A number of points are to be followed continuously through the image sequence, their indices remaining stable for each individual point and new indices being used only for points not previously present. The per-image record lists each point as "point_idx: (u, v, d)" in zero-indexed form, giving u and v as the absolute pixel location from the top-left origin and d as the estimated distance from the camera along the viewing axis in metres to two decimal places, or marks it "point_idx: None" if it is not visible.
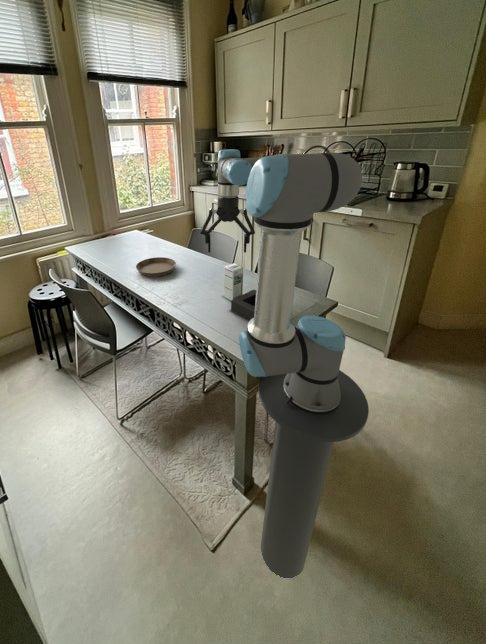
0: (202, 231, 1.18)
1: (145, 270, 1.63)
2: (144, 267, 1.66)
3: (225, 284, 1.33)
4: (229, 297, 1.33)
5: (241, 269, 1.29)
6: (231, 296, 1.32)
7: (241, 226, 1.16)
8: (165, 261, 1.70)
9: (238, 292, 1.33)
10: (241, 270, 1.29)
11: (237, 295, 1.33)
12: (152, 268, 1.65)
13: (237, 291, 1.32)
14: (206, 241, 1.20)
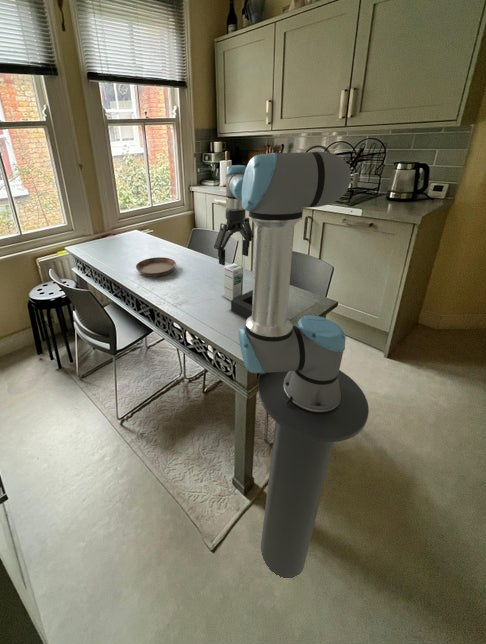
0: (219, 246, 1.19)
1: (145, 270, 1.63)
2: (144, 267, 1.66)
3: (225, 284, 1.33)
4: (229, 297, 1.33)
5: (241, 269, 1.29)
6: (231, 296, 1.32)
7: (245, 233, 1.26)
8: (165, 261, 1.70)
9: (238, 292, 1.33)
10: (241, 270, 1.29)
11: (237, 295, 1.33)
12: (152, 268, 1.65)
13: (237, 291, 1.32)
14: (221, 255, 1.22)
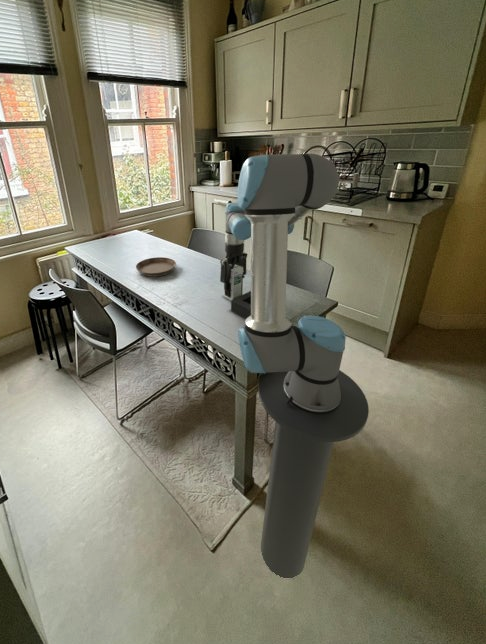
0: (225, 281, 1.27)
1: (145, 270, 1.63)
2: (144, 267, 1.66)
3: None
4: (229, 297, 1.33)
5: (241, 269, 1.29)
6: (231, 296, 1.32)
7: None
8: (165, 261, 1.70)
9: (238, 292, 1.33)
10: (241, 270, 1.29)
11: (237, 295, 1.33)
12: (152, 268, 1.65)
13: (237, 291, 1.32)
14: (227, 288, 1.31)
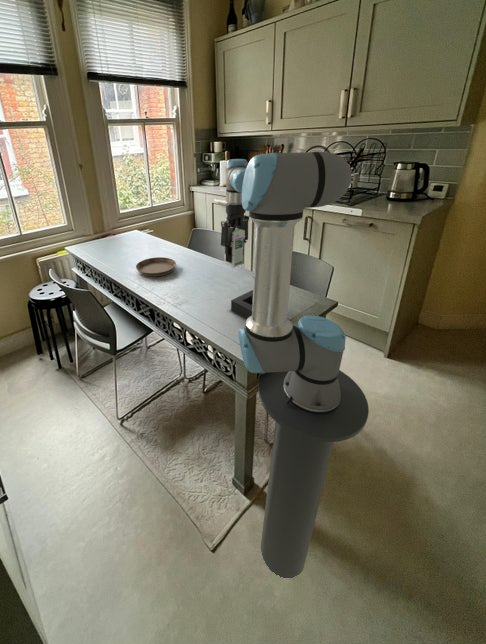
0: (226, 244, 1.21)
1: (145, 270, 1.63)
2: (144, 267, 1.66)
3: None
4: (230, 263, 1.26)
5: (243, 233, 1.23)
6: (233, 261, 1.25)
7: None
8: (165, 261, 1.70)
9: (239, 258, 1.26)
10: (243, 233, 1.23)
11: (238, 261, 1.26)
12: (152, 268, 1.65)
13: (239, 256, 1.25)
14: (228, 253, 1.24)
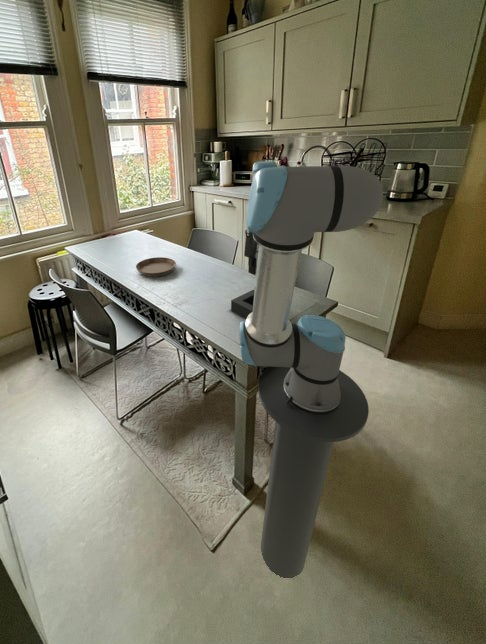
0: (250, 255, 1.10)
1: (145, 270, 1.63)
2: (144, 267, 1.66)
3: None
4: (254, 275, 1.16)
5: None
6: None
7: None
8: (165, 261, 1.70)
9: None
10: None
11: None
12: (152, 268, 1.65)
13: None
14: (252, 264, 1.13)
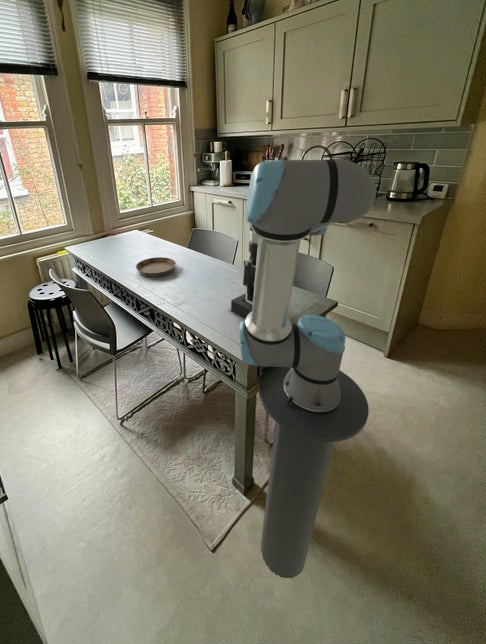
0: (249, 284, 1.14)
1: (145, 270, 1.63)
2: (144, 267, 1.66)
3: None
4: (252, 302, 1.20)
5: None
6: None
7: None
8: (165, 261, 1.70)
9: None
10: None
11: None
12: (152, 268, 1.65)
13: None
14: (250, 292, 1.17)
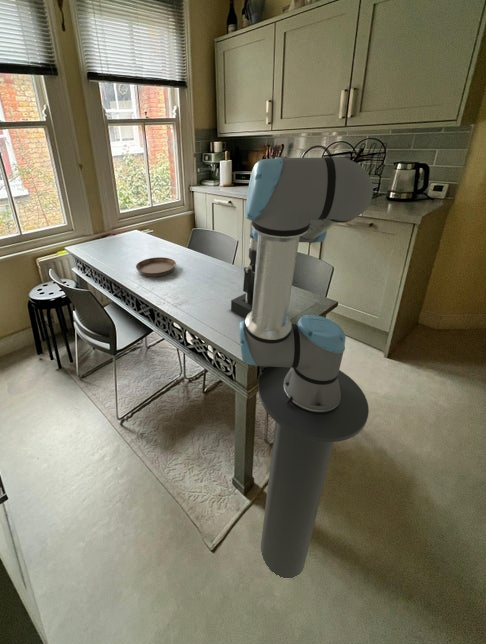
0: (249, 290, 1.15)
1: (145, 270, 1.63)
2: (144, 267, 1.66)
3: None
4: None
5: None
6: None
7: None
8: (165, 261, 1.70)
9: None
10: None
11: None
12: (152, 268, 1.65)
13: None
14: (250, 298, 1.18)
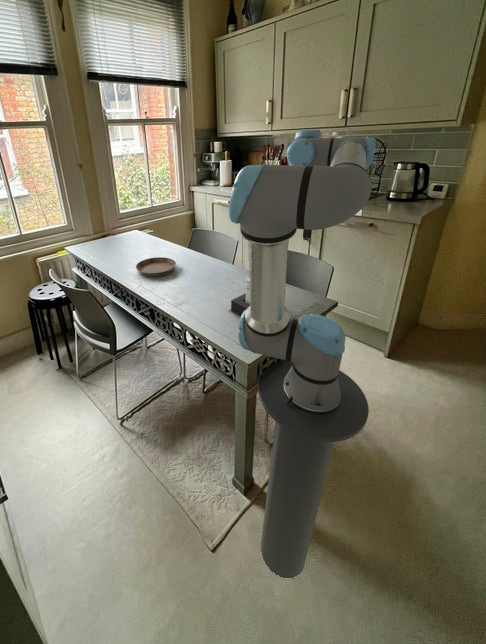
0: None
1: (145, 270, 1.63)
2: (144, 267, 1.66)
3: (247, 298, 1.22)
4: None
5: None
6: None
7: None
8: (165, 261, 1.70)
9: None
10: None
11: None
12: (152, 268, 1.65)
13: None
14: None
